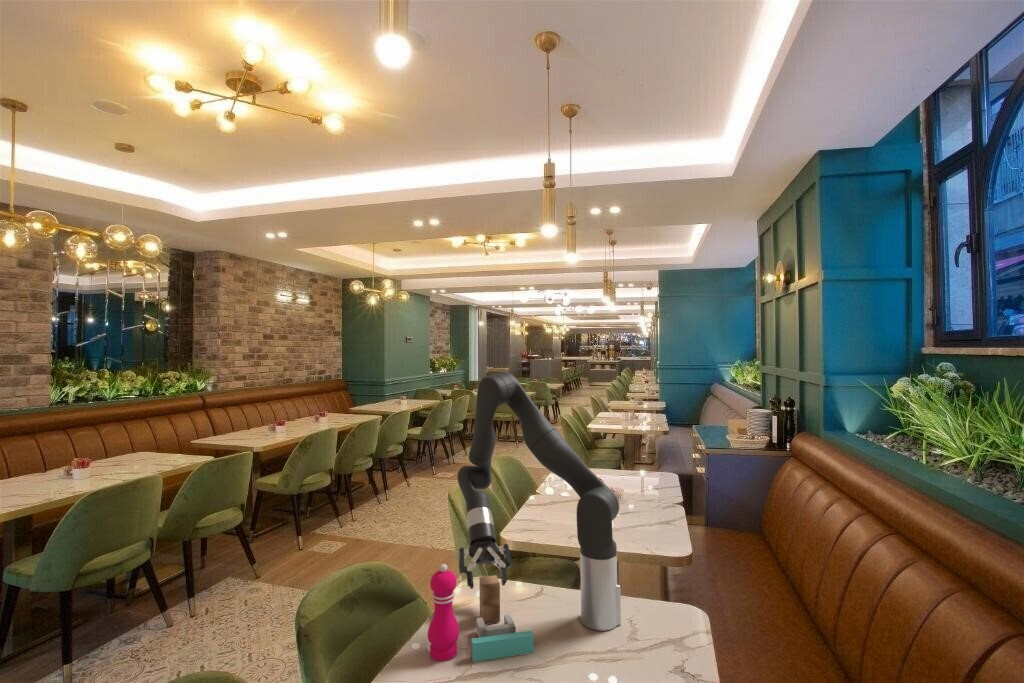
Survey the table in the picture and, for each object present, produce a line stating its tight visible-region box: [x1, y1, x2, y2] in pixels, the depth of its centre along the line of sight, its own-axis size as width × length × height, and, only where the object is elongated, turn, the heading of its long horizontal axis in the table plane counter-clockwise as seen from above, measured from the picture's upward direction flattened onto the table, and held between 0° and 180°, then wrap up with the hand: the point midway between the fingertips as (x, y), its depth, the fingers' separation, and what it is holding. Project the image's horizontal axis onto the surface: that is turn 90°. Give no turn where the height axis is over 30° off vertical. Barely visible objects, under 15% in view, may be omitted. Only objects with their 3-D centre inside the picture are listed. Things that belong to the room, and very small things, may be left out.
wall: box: [471, 630, 535, 663], centre depth 112 cm, size 14×2×4 cm, turn 103°
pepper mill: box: [427, 563, 460, 662], centre depth 113 cm, size 7×7×20 cm
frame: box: [476, 613, 517, 638], centre depth 119 cm, size 8×6×3 cm
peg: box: [479, 574, 501, 625], centre depth 127 cm, size 4×4×10 cm
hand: (488, 586), depth 130 cm, fingers open, 8 cm apart
